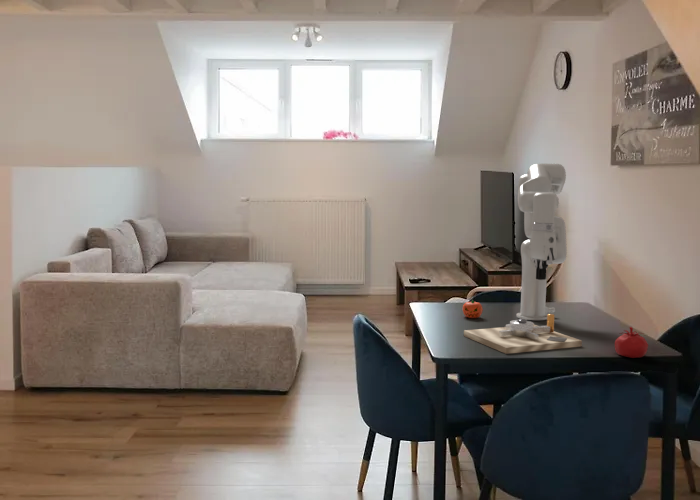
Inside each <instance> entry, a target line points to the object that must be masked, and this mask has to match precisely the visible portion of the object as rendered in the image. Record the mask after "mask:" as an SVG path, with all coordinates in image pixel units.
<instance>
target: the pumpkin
mask: <svg viewBox="0 0 700 500" xmlns="http://www.w3.org/2000/svg"><path fill="white" fill-rule="evenodd" d="M483 309H484V308H483V305H482V304H481V303H480V302H476V301H474V300H473V299H472V300H471V301H466V302H465V303H464V304H463V305H462V313H463V315H464V316H465V317H466V318H468V319H477V318H480V317H481V315H482V313H483Z"/></svg>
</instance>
